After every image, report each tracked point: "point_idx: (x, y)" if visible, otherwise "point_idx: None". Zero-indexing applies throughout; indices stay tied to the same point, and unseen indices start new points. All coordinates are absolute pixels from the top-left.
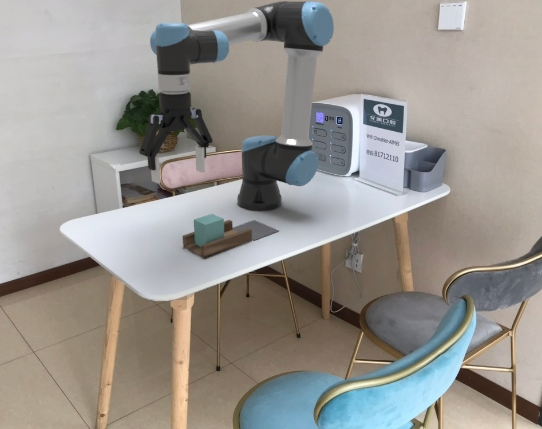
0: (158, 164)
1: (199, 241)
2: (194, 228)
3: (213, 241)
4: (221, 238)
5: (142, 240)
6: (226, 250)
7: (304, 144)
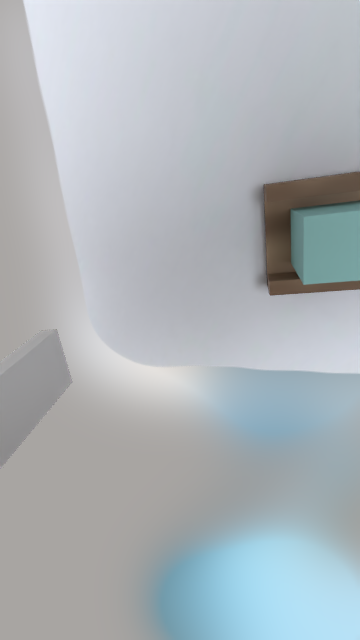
0: (2, 458)
1: (292, 235)
2: (298, 215)
3: None
4: None
5: (189, 47)
6: None
7: None
